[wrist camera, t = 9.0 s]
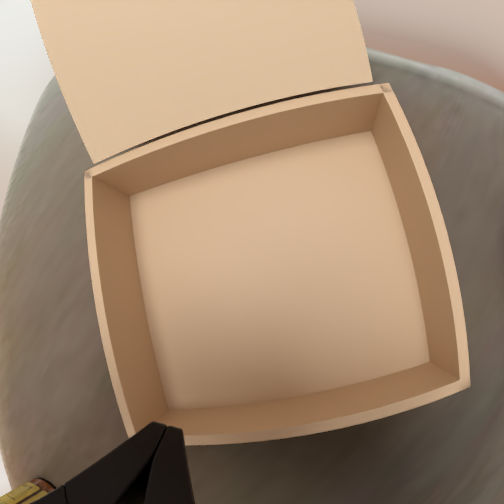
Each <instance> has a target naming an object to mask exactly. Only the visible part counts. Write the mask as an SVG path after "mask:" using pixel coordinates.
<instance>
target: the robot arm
mask: <svg viewBox="0 0 504 504" xmlns="http://www.w3.org/2000/svg"><path fill="white" fill-rule="evenodd" d="M29 504H195V501H194V496H193V490H192V485H191V479H190V473H189V467H188V461H187V454H186V448H185V441H184V433H183V429H182V428H178V427H174V426H170V425H169V426H168V427H167V425H166V424H163V423H160V422H156V421H152V422H150V423H149V424H148V425H146V426H145V427H144V428H142V429H141V430H140V431H138V432H137V433H136V434H134V435H133V436H132V437H130V438H129V439H128V440H126V441H125V442H124V443H122V444H121V445H120V446H118V447H117V448H115V449H114V450H113V451H111V452H110V453H108V454H107V455H106V456H104V457H103V458H101V459H100V460H98V461H97V462H96V463H94V464H93V465H91V466H90V467H88V468H87V469H85V470H84V471H82V472H81V473H80V474H78V475H77V476H75V477H74V478H72V479H71V480H69V481H67V482H66V483H65V484H64V485H61V486H60V487H58V488H56V489H55V490H53V491H52V492H50V493H48V494H47V495H45V496H43V497H41V498H40V499H38V500H36V501H33V502H31V503H29Z"/></svg>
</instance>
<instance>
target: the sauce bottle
mask: <svg viewBox="0 0 504 504" xmlns="http://www.w3.org/2000/svg"><path fill="white" fill-rule="evenodd" d="M53 490H55V489H54V488H53V487H52V486H51V485H50V484H49V483H47V482H46V481H43V480H41V479H33V480H31V482H27V483H25V484H23V485H21V486H19V487H17V488H16V489H14V490H12V491H10V492H9V493H7V494H5V495H3V496H2V497H0V504H29V503H31V502H33V501H36V500H38V499H40V498H41V497H43V496H45V495H47V494H48V493H50V492H52V491H53Z"/></svg>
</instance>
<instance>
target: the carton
mask: <svg viewBox="0 0 504 504" xmlns="http://www.w3.org/2000/svg"><path fill="white" fill-rule="evenodd" d="M84 179H85V211H86V228H87V240H88V251H89V261H90V270H91V278H92V285H93V292H94V299H95V305H96V311H97V317H98V322H99V327H100V333H101V338H102V342H103V347H104V352H105V356H106V360H107V365H108V369H109V373H110V377H111V381H112V384H113V388H114V392H115V395H116V399H117V402H118V406H119V409H120V412H121V416H122V419H123V422H124V425H125V428H126V431H127V434H128V437H129V438H130V437H132V436H133V435H134V434H136V433H137V432H138V431H140V430H141V429H142V428H144V427H145V426H146V425H148V424H149V423H150V422H152V421H156V422H160V423H163V424H166V425H167V427H168V426H169V425H170V426H174V427H178V428H182V429H183V433H184V441H185V445H217V444H234V443H247V442H258V441H267V440H275V439H283V438H290V437H297V436H303V435H309V434H315V433H320V432H325V431H330V430H335V429H340V428H344V427H349V426H353V425H357V424H361V423H365V422H369V421H373V420H377V419H380V418H384V417H387V416H391V415H394V414H397V413H401V412H404V411H407V410H410V409H413V408H416V407H419V406H422V405H425V404H428V403H431V402H433V401H436V400H439V399H441V398H444V397H446V396H449V395H452V394H454V393H456V392H459V391H461V390H464V389H466V388H468V387H470V369H469V355H468V344H467V335H466V327H465V319H464V312H463V306H462V299H461V294H460V288H459V283H458V278H457V273H456V268H455V263H454V259H453V255H452V250H451V246H450V242H449V238H448V235H447V231H446V227H445V224H444V220H443V217H442V213H441V210H440V207H439V203H438V200H437V197H436V194H435V191H434V188H433V185H432V182H431V179H430V176H429V174H428V171H427V168H426V165H425V163H424V160H423V158H422V155H421V152H420V150H419V147H418V145H417V143H416V140H415V138H414V135H413V133H412V131H411V128H410V126H409V124H408V122H407V119H406V117H405V115H404V113H403V111H402V109H401V107H400V105H399V102H398V100H397V98H396V96H395V94H394V92H393V90H392V88H391V87H390V85H389V83H384V84H376V85H369V86H362V87H355V88H349V89H343V90H337V91H331V92H326V93H321V94H316V95H311V96H306V97H301V98H296V99H292V100H288V101H283V102H279V103H275V104H271V105H267V106H263V107H259V108H255V109H252V110H248V111H244V112H241V113H237V114H234V115H230V116H227V117H224V118H221V119H217V120H214V121H211V122H208V123H205V124H202V125H199V126H196V127H193V128H190V129H187V130H184V131H181V132H178V133H175V134H173V135H170V136H167V137H164V138H162V139H159V140H157V141H154V142H151V143H149V144H146V145H144V146H141V147H139V148H136V149H134V150H131V151H129V152H127V153H124V154H122V155H120V156H117V157H115V158H113V159H110V160H108V161H106V162H104V163H102V164H99V165H97V166H95V167H93V168H91V169H89V170H87V171H84Z"/></svg>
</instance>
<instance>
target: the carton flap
mask: <svg viewBox="0 0 504 504" xmlns="http://www.w3.org/2000/svg"><path fill="white" fill-rule="evenodd" d="M31 3H32V6H33V10H34V13H35V17H36V20H37V23H38V27H39V30H40V33H41V36H42V39H43V42H44V45H45V48H46V51H47V54H48V56H49V59H50V62H51V65H52V67H53V70H54V72H55V75H56V78H57V81H58V83H59V86H60V88H61V91H62V93H63V96H64V98H65V101H66V103H67V105H68V108H69V110H70V113H71V115H72V117H73V120H74V122H75V124H76V126H77V129H78V131H79V133H80V135H81V138H82V140H83V142H84V144H85V146H86V148H87V150H88V153H89V155H90V157H91V159H92V161H93V163H94V164H95V163H97V162H99V161H101V160H103V159H106V158H108V157H110V156H112V155H115V154H117V153H119V152H121V151H124V150H126V149H128V148H131V147H133V146H136V145H138V144H141V143H143V142H146V141H148V140H151V139H153V138H156V137H158V136H161V135H164V134H166V133H169V132H172V131H174V130H177V129H180V128H183V127H186V126H189V125H191V124H194V123H197V122H200V121H203V120H207V119H210V118H213V117H216V116H219V115H222V114H226V113H229V112H233V111H236V110H239V109H243V108H247V107H250V106H254V105H258V104H262V103H265V102H269V101H273V100H278V99H282V98H286V97H290V96H295V95H299V94H304V93H309V92H314V91H319V90H324V89H330V88H335V87H341V86H347V85H354V84H360V83H367V82H373V80H372V74H371V69H370V65H369V60H368V55H367V51H366V46H365V42H364V38H363V34H362V30H361V26H360V22H359V19H358V15H357V11H356V8H355V4H354V1H353V0H31Z"/></svg>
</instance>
